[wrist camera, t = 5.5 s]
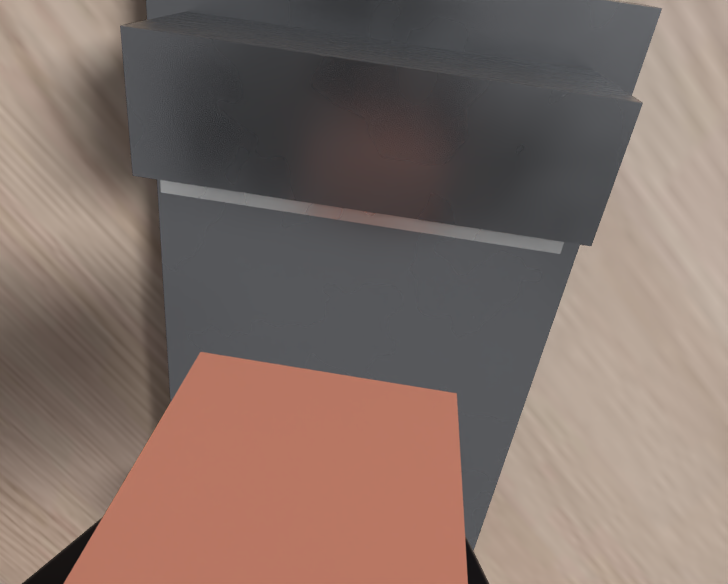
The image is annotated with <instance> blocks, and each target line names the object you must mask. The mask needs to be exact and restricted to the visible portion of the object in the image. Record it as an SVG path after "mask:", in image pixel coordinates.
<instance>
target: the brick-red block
mask: <svg viewBox="0 0 728 584" xmlns="http://www.w3.org/2000/svg"><path fill="white" fill-rule="evenodd" d="M64 584H468V577H467V560H466V543H465V526H464V509H463V491H462V474H461V457H460V440H459V423H458V406H457V393H452V392H445V391H439V390H433V389H427V388H421V387H415V386H408V385H402V384H396V383H390V382H384V381H378V380H371V379H365V378H359V377H353V376H347V375H341V374H334V373H328V372H322V371H316V370H310V369H304V368H297V367H291V366H285V365H279V364H273V363H267V362H260V361H254V360H248V359H242V358H236V357H230V356H223V355H217V354H211V353H205V352H200V353H199V355H198V357H197V359H196V360H195V362H194V364H193V365H192V367H191V369H190V370H189V372H188V374H187V376H186V377H185V379H184V381H183V382H182V384H181V386H180V387H179V389H178V391H177V392H176V394H175V396H174V398H173V399H172V401H171V403H170V404H169V406H168V408H167V409H166V411H165V413H164V414H163V416H162V418H161V420H160V421H159V423H158V425H157V426H156V428H155V430H154V431H153V433H152V435H151V436H150V438H149V440H148V442H147V443H146V445H145V447H144V448H143V450H142V452H141V453H140V455H139V457H138V458H137V460H136V462H135V464H134V465H133V467H132V469H131V470H130V472H129V474H128V475H127V477H126V479H125V481H124V482H123V484H122V486H121V487H120V489H119V491H118V492H117V494H116V496H115V497H114V499H113V501H112V503H111V504H110V506H109V508H108V509H107V511H106V513H105V514H104V516H103V518H102V519H101V521H100V523H99V525H98V526H97V528H96V530H95V531H94V533H93V535H92V536H91V538H90V540H89V541H88V543H87V545H86V547H85V548H84V550H83V552H82V553H81V555H80V557H79V558H78V560H77V562H76V563H75V565H74V567H73V569H72V570H71V572H70V574H69V575H68V577H67V579H66V580H65V582H64Z"/></svg>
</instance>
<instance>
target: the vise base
mask: <svg viewBox="0 0 728 584" xmlns="http://www.w3.org/2000/svg"><path fill="white" fill-rule="evenodd" d="M146 9H147V20H144V21H139V22H135V23H130V24H125V25H121V26H120V29H121V41H122V53H123V65H124V77H125V89H126V101H127V113H128V125H129V137H130V149H131V161H132V173H133V176H138V177H145V178H151V179H157V189H158V205H159V221H160V238H161V254H162V270H163V286H164V303H165V319H166V335H167V352H168V368H169V384H170V401H172V399H173V398H174V396H175V394H176V392H177V391H178V389H179V387H180V386H181V384H182V382H183V381H184V379H185V377H186V376H187V374H188V372H189V370H190V369H191V367H192V365H193V364H194V362H195V360H196V359H197V357H198V355H199V353H200V352H205V353H211V354H217V355H223V356H230V357H236V358H242V359H248V360H254V361H260V362H267V363H273V364H279V365H285V366H291V367H297V368H304V369H310V370H316V371H322V372H328V373H334V374H341V375H347V376H353V377H359V378H365V379H371V380H378V381H384V382H390V383H396V384H402V385H408V386H415V387H421V388H427V389H433V390H439V391H445V392H452V393H457V406H458V423H459V440H460V457H461V474H462V491H463V509H464V526H465V536H466V538H467V539H468V541H469V543H470V545H471V547H472V549H473V550H474V548H475V545H476V542H477V539H478V536H479V533H480V530H481V527H482V525H483V522H484V519H485V516H486V513H487V510H488V507H489V504H490V502H491V499H492V496H493V493H494V490H495V487H496V484H497V481H498V479H499V476H500V473H501V470H502V467H503V464H504V461H505V458H506V456H507V453H508V450H509V447H510V444H511V441H512V438H513V435H514V433H515V430H516V427H517V424H518V421H519V418H520V415H521V412H522V410H523V407H524V404H525V401H526V398H527V395H528V392H529V389H530V387H531V384H532V381H533V378H534V375H535V372H536V369H537V366H538V364H539V361H540V358H541V355H542V352H543V349H544V346H545V343H546V341H547V338H548V335H549V332H550V329H551V326H552V323H553V320H554V318H555V315H556V312H557V309H558V306H559V303H560V300H561V297H562V295H563V292H564V289H565V286H566V283H567V280H568V277H569V274H570V272H571V269H572V266H573V263H574V260H575V257H576V254H577V251H578V249H579V246H580V245H587V246H592V243H593V240H594V237H595V234H596V232H597V229H598V226H599V223H600V221H601V218H602V215H603V212H604V209H605V207H606V204H607V201H608V198H609V196H610V193H611V190H612V187H613V184H614V182H615V179H616V176H617V173H618V170H619V168H620V165H621V162H622V159H623V157H624V154H625V151H626V148H627V145H628V143H629V140H630V137H631V134H632V132H633V129H634V126H635V123H636V120H637V118H638V115H639V112H640V109H641V106H642V104H643V103H642V102H641V101H639V100H638V99H636V98H635V97H633V96H632V93H633V90H634V87H635V85H636V82H637V79H638V76H639V73H640V70H641V67H642V64H643V62H644V59H645V56H646V53H647V50H648V47H649V44H650V41H651V39H652V36H653V33H654V30H655V27H656V24H657V21H658V18H659V16H660V13H661V10H662V8H657V7H653V6H648V5H642V4H635V3H628V2H621V1H615V0H146Z"/></svg>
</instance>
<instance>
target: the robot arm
mask: <svg viewBox="0 0 728 584" xmlns="http://www.w3.org/2000/svg"><path fill="white" fill-rule="evenodd" d="M102 518H103V517H102ZM102 518H101V519H102ZM101 519H100V520H99V521H97V522H96V523H95V524H94V525H93V526H91V527H90V528H89V529H88V530H87V531H85V532H84V533H83V534H82V535H80V536H79V537H78V538H77V539H76V540H74V541H73V542H72V543H71V544H70V545H68V546H67V547H66V548H65V549H63V550H62V551H61V552H60V553H59V554H57V555H56V556H55V557H54V558H53V559H51V560H50V561H49V562H48V563H46V564H45V565H44V566H43V567H42V568H40V569H39V570H38V571H37V572H36V573H34V574H33V575H32V576H31V577H30V578H28V579H27V580H26V581H25V582H23V583H22V584H64V582H65V580H66V579H67V577H68V575H69V574H70V572H71V570H72V569H73V567H74V565H75V563H76V562H77V560H78V558H79V557H80V555H81V553H82V552H83V550H84V548H85V547H86V545H87V543H88V541H89V540H90V538H91V536H92V535H93V533H94V531H95V530H96V528H97V526H98V525H99V523H100V521H101ZM465 543H466V560H467V577H468V584H489V582H488V580H487V578H486V576H485V574H484V572H483V570H482V568H481V566H480V564H479V562H478V560H477V558H476V556H475V554H474V552H473V549H472V547H471V545H470V543H469V541H468V539H467V538H466V536H465Z"/></svg>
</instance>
